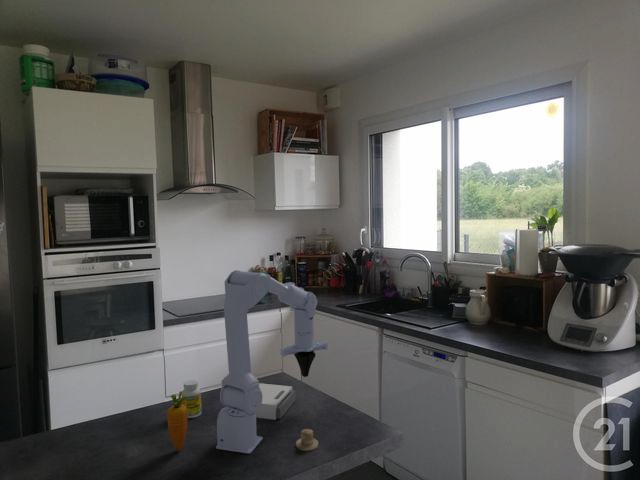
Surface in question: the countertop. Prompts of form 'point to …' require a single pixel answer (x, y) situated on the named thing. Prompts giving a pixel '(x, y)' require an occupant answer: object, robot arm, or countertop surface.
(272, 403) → the player
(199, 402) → the supplement bottle
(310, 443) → the stand
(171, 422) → the carrot
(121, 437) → the countertop surface
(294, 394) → the tray
